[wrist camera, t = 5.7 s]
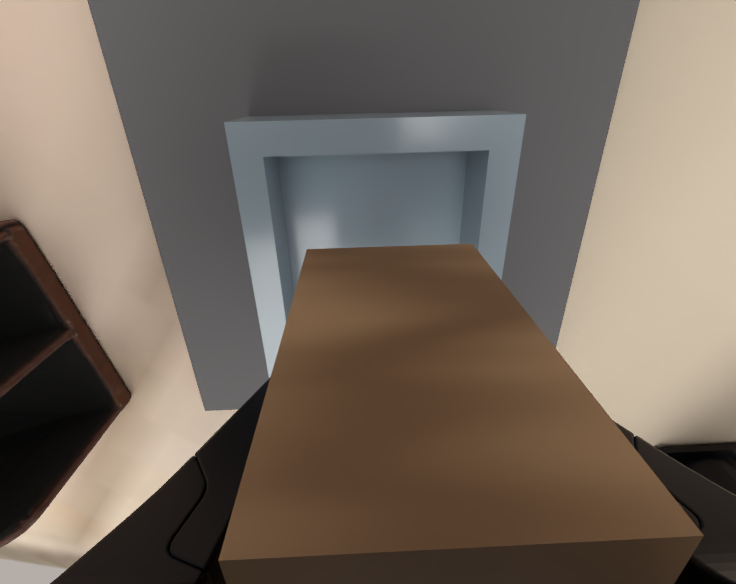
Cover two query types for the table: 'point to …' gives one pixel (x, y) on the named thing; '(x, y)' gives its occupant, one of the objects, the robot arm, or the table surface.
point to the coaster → (346, 96)
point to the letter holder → (44, 385)
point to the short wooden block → (438, 442)
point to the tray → (368, 190)
